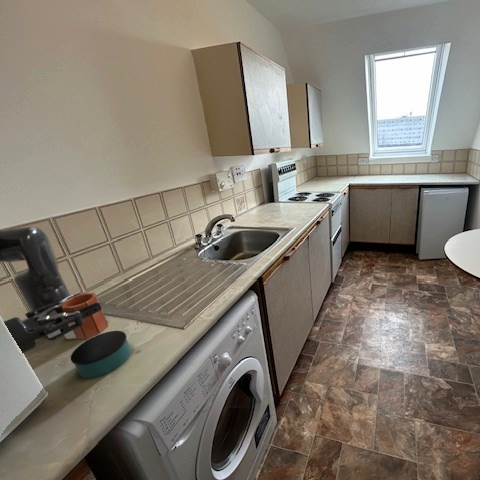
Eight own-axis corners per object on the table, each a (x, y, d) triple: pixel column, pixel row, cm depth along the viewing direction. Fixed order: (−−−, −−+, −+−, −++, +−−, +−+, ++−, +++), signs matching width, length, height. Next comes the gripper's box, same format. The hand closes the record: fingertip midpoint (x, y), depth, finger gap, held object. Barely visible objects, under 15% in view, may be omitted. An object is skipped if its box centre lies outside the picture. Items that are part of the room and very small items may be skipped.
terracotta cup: (77, 329, 67) (62, 299, 64) (107, 319, 71) (95, 290, 67) (76, 342, 62) (60, 311, 59) (108, 330, 66) (95, 300, 63)
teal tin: (79, 359, 71) (71, 345, 69) (129, 338, 77) (123, 324, 76) (77, 387, 62) (69, 371, 61) (134, 361, 69) (128, 346, 67)
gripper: (-6, 343, 48) (101, 295, 61) (-25, 320, 55) (75, 282, 68) (14, 374, 50) (112, 322, 64) (-6, 348, 57) (86, 306, 71)
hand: (93, 301), depth 66 cm, fingers closed on terracotta cup, 6 cm apart
